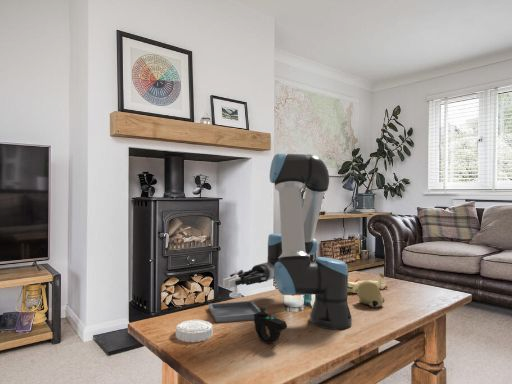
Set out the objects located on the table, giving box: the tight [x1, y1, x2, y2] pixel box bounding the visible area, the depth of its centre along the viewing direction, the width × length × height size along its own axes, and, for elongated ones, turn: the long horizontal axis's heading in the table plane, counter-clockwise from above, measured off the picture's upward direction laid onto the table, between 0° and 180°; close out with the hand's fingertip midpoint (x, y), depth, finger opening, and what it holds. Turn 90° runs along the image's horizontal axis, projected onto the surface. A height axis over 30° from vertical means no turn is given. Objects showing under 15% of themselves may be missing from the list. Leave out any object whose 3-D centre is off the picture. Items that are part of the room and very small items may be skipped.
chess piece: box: [229, 269, 242, 299], centre depth 142 cm, size 5×5×10 cm
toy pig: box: [355, 279, 385, 308], centre depth 157 cm, size 10×12×11 cm
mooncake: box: [175, 319, 214, 343], centre depth 120 cm, size 12×12×4 cm
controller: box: [253, 307, 288, 344], centre depth 115 cm, size 4×12×10 cm, turn 43°
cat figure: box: [347, 272, 389, 294], centre depth 180 cm, size 10×9×25 cm
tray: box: [208, 300, 261, 324], centre depth 142 cm, size 16×18×2 cm
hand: (226, 283), depth 138 cm, fingers closed on chess piece, 2 cm apart
